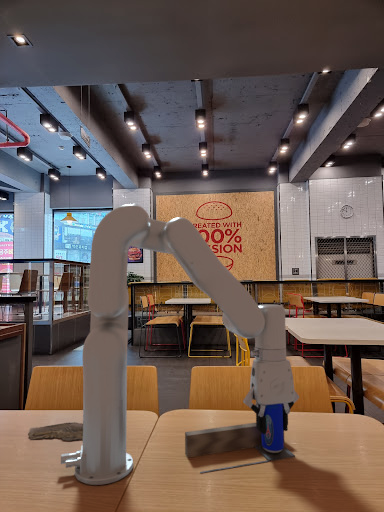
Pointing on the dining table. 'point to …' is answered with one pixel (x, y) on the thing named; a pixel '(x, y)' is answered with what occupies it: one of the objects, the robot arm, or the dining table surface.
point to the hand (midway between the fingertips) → (272, 429)
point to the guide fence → (229, 442)
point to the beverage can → (273, 428)
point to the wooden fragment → (58, 432)
